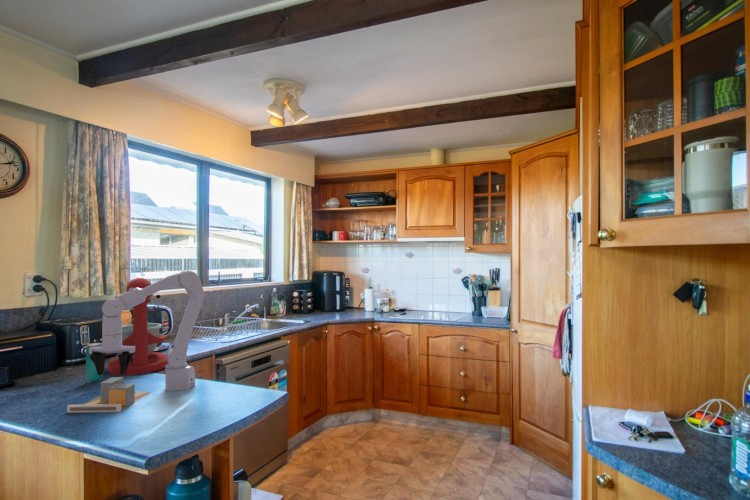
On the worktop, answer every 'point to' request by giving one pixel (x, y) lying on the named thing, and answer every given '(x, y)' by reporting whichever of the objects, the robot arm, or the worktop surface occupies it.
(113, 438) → the worktop surface
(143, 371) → the stand mixer
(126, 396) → the faced box
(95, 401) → the shelf board
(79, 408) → the rail
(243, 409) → the worktop surface
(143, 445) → the worktop surface
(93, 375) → the beverage can
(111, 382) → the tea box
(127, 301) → the robot arm
